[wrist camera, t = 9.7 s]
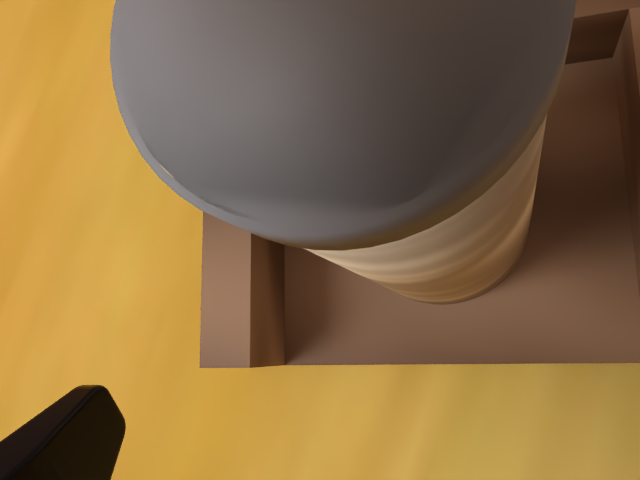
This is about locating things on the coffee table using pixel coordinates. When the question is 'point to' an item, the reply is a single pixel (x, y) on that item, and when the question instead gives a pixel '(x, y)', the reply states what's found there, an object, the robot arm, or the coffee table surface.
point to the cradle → (509, 295)
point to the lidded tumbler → (352, 125)
